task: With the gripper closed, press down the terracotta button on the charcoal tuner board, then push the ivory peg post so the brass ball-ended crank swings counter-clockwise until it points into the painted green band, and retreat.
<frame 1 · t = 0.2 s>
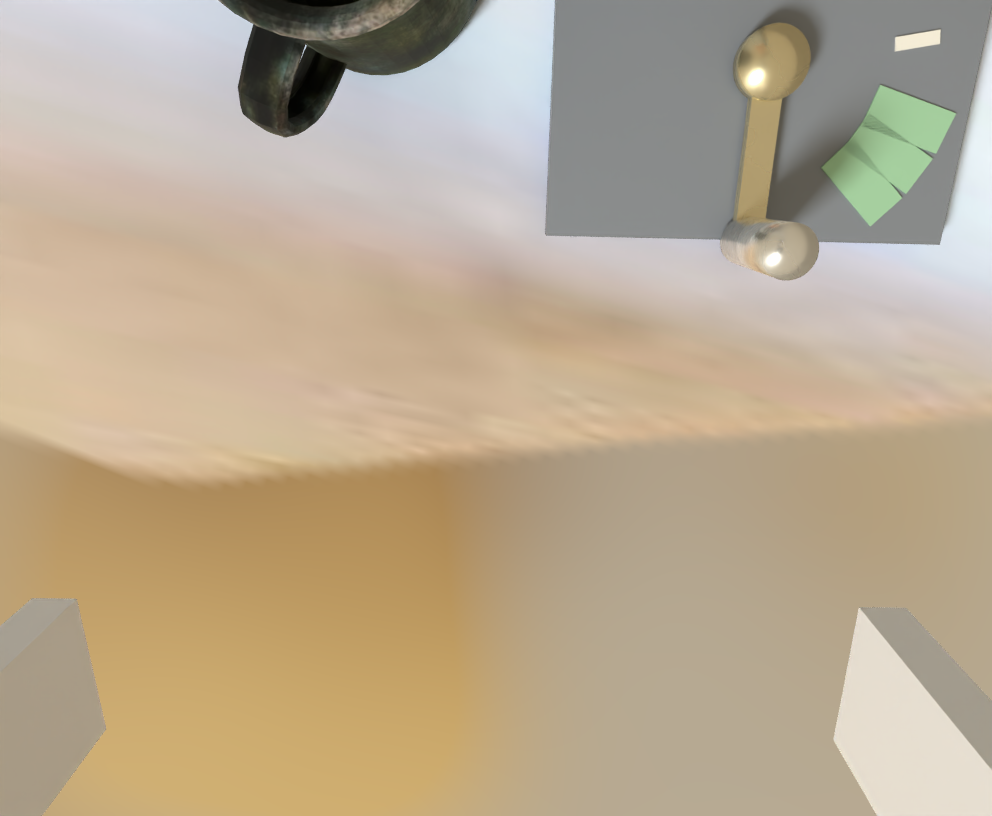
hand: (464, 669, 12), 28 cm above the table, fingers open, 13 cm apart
tuner board: (765, 1, 33), on the table
brass ball-ended crank: (778, 149, 30), point 4 cm above the table, hinge at 0.0°
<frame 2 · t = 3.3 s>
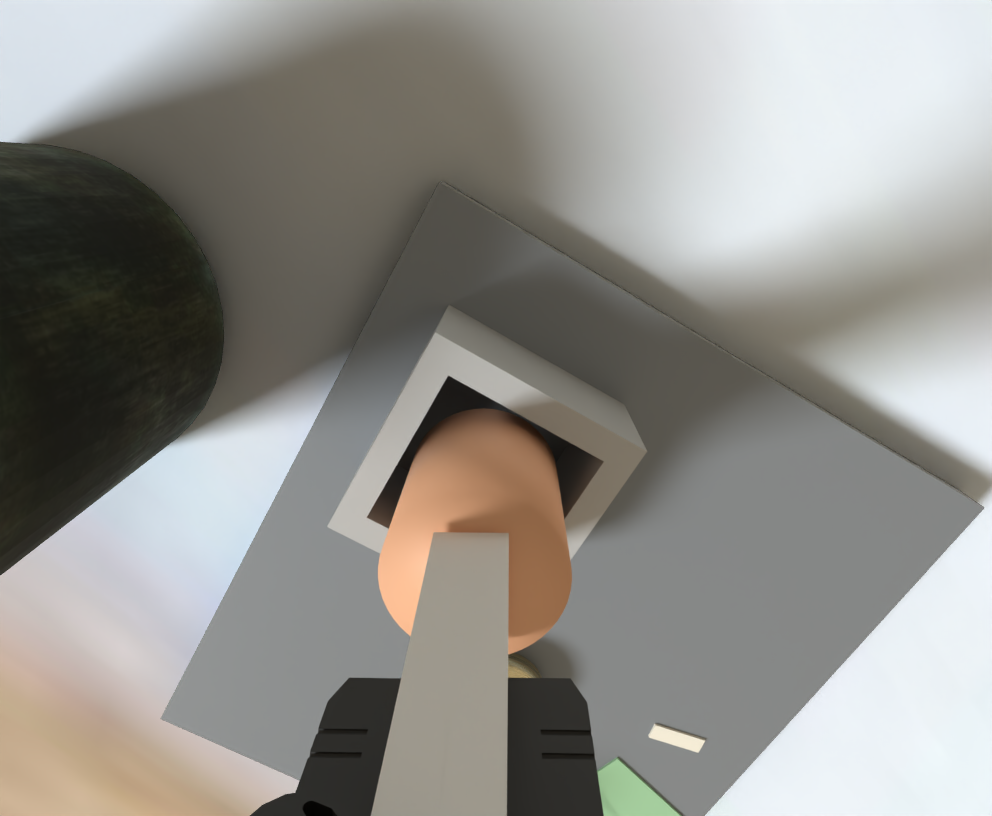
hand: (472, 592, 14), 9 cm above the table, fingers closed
tuner board: (540, 600, 25), on the table
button: (480, 520, 16), point 7 cm above the table, slide at 0.3 cm, touching gripper
mug: (44, 343, 22), on the table
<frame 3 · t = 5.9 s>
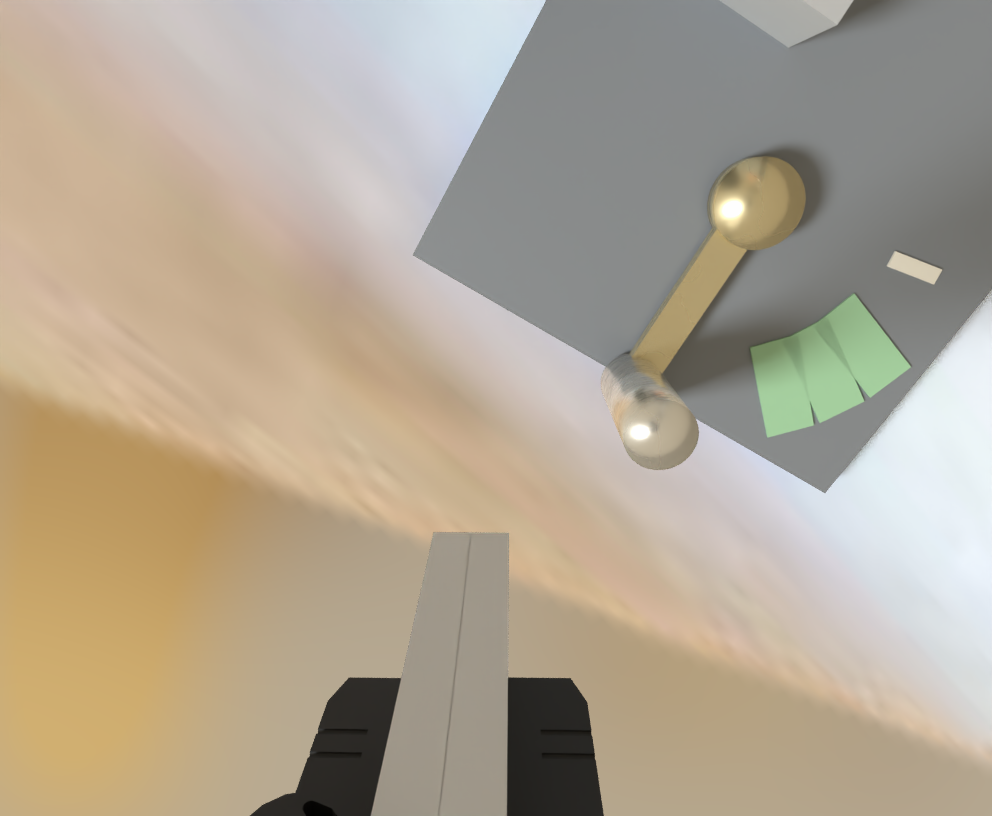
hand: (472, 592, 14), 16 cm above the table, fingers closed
tuner board: (785, 129, 26), on the table
brass ball-ended crank: (712, 306, 24), point 4 cm above the table, hinge at 0.0°
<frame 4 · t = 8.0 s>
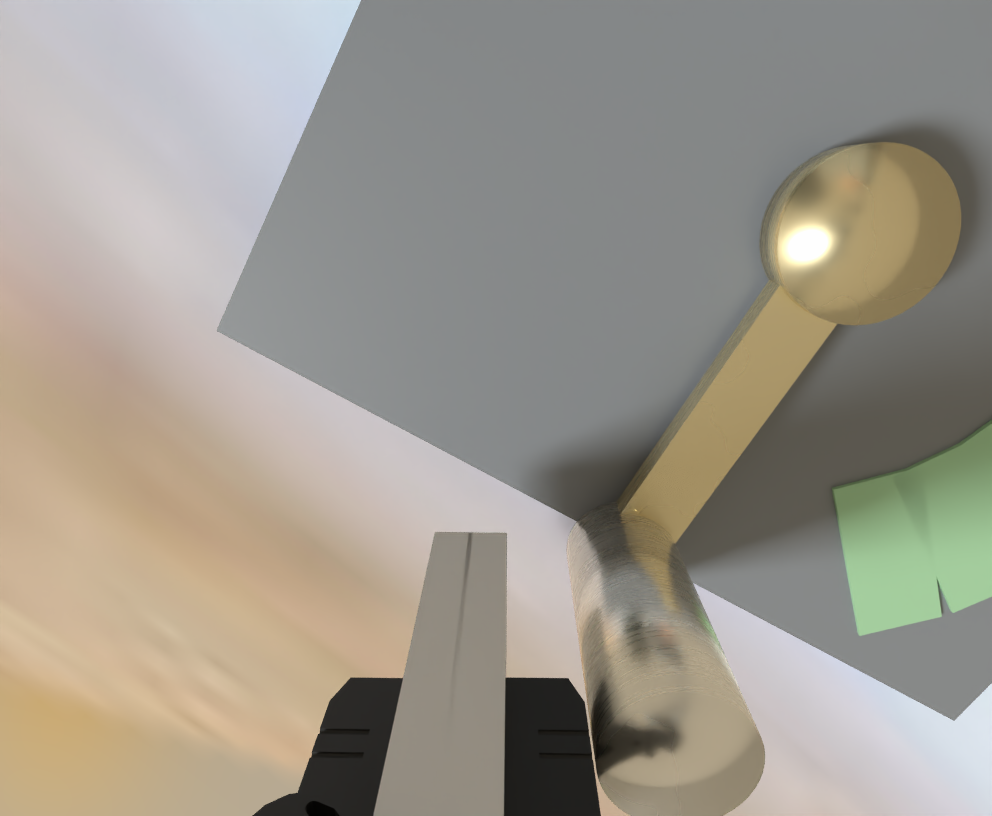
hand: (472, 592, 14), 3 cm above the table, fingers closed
tuner board: (904, 94, 14), on the table
brass ball-ended crank: (780, 449, 11), point 4 cm above the table, hinge at 0.2°, touching gripper
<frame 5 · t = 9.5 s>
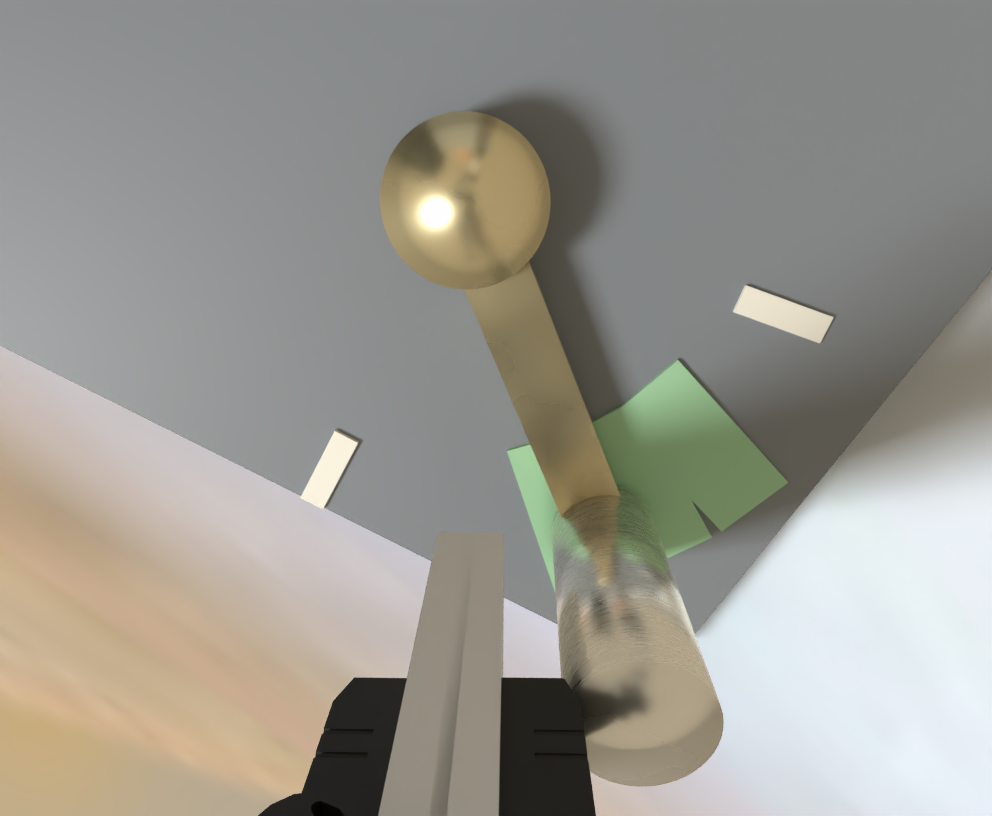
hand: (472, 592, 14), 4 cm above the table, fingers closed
tuner board: (543, 65, 14), on the table
brass ball-ended crank: (540, 418, 12), point 4 cm above the table, hinge at 51.7°, touching gripper
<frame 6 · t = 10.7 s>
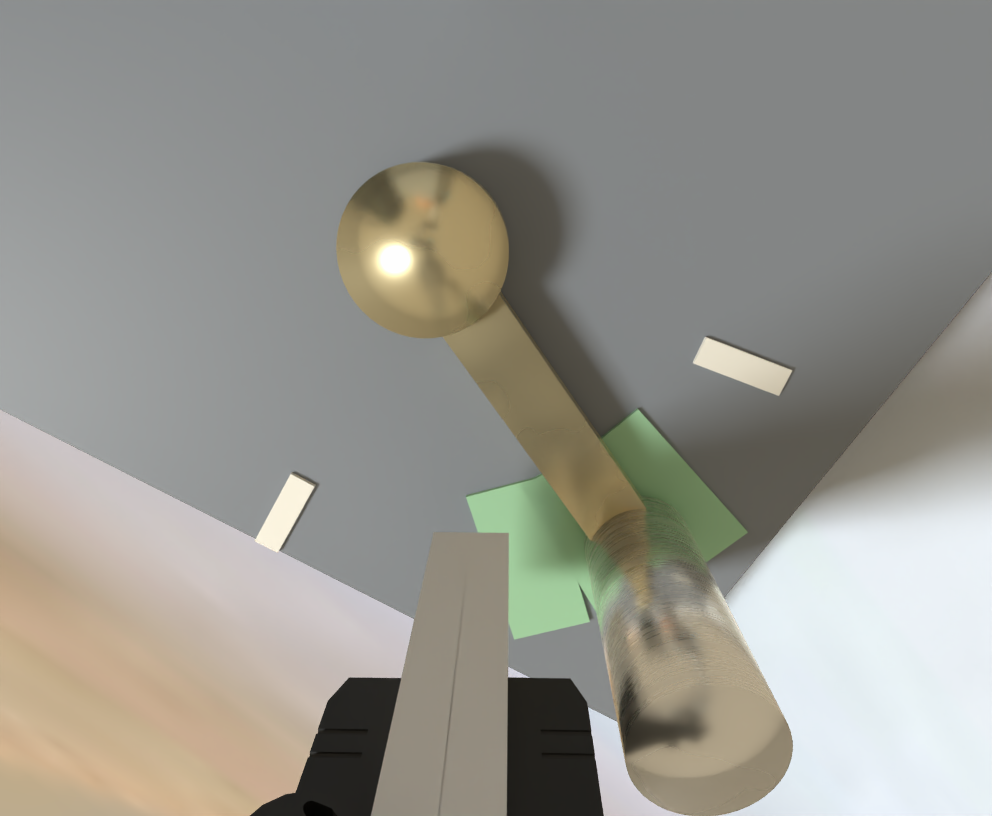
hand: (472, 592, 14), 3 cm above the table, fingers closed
tuner board: (506, 114, 14), on the table
brass ball-ended crank: (540, 452, 12), point 4 cm above the table, hinge at 65.2°
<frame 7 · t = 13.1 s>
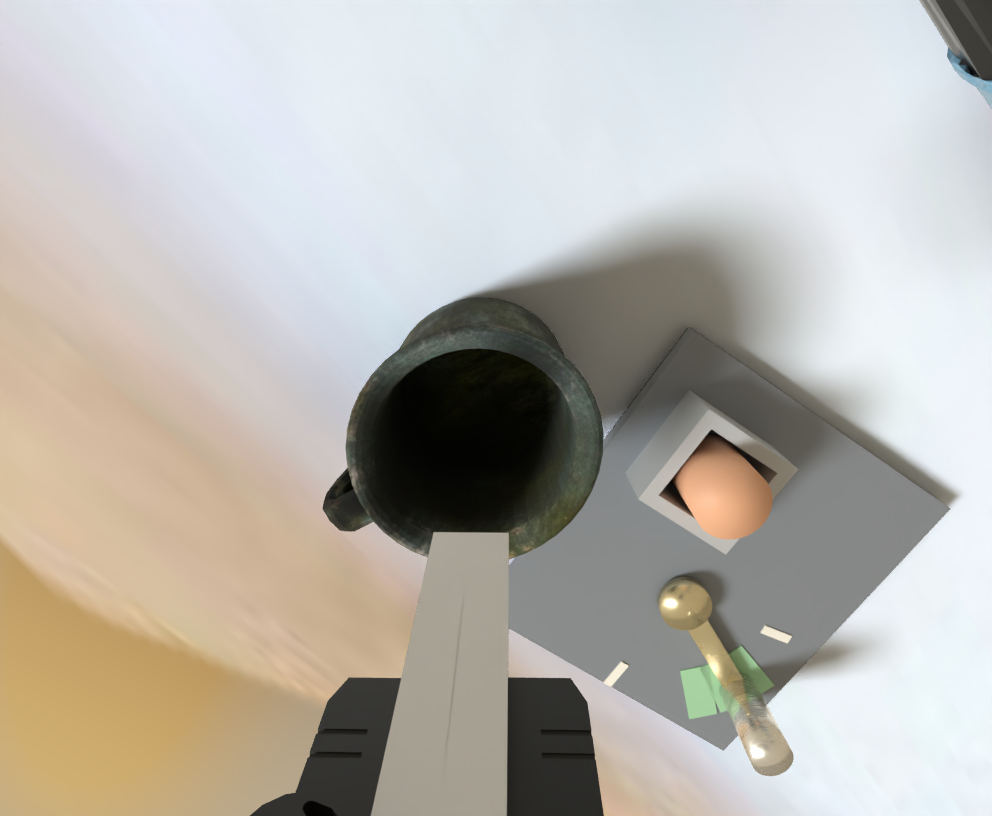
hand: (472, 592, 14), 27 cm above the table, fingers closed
tuner board: (704, 552, 44), on the table
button: (717, 484, 37), point 5 cm above the table, slide at 2.0 cm
mug: (456, 395, 41), on the table
brass ball-ended crank: (723, 673, 41), point 4 cm above the table, hinge at 65.3°
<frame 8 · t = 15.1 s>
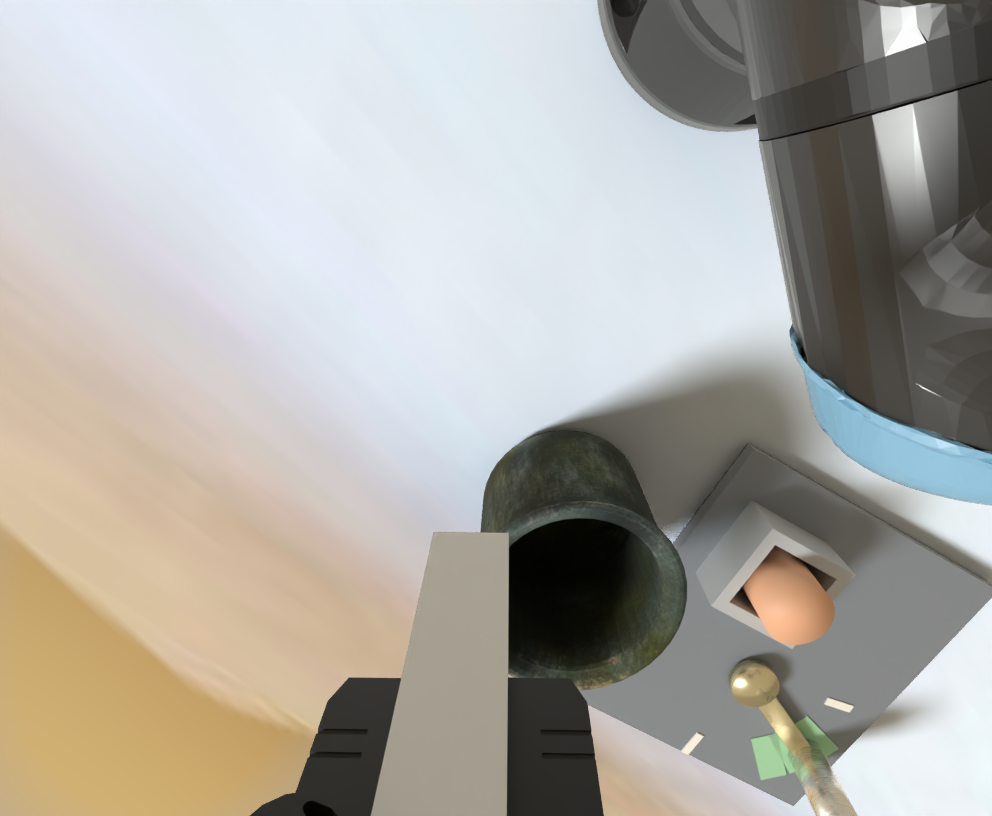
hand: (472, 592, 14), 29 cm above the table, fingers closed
tuner board: (769, 634, 48), on the table
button: (782, 591, 42), point 5 cm above the table, slide at 2.0 cm
mug: (540, 510, 46), on the table
brass ball-ended crank: (793, 747, 46), point 4 cm above the table, hinge at 65.3°
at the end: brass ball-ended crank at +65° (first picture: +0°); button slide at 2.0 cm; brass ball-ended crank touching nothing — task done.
